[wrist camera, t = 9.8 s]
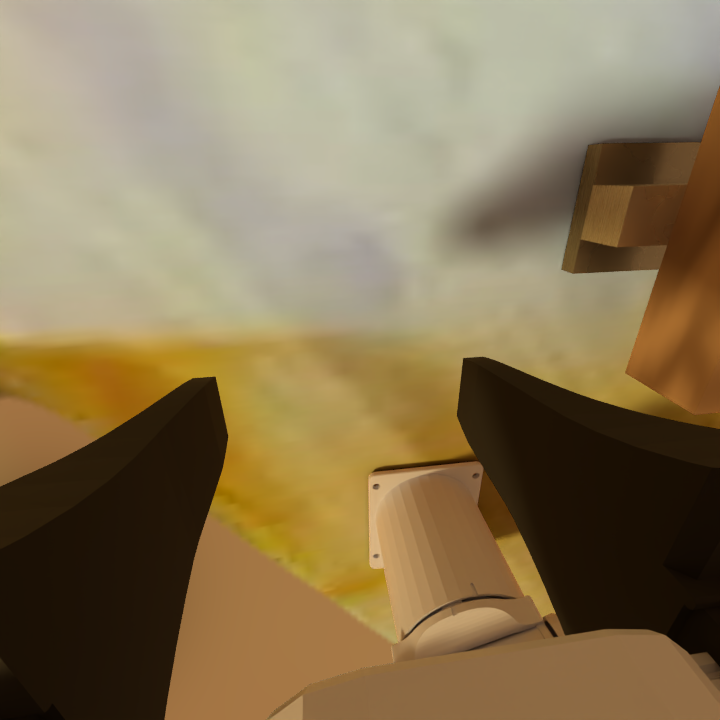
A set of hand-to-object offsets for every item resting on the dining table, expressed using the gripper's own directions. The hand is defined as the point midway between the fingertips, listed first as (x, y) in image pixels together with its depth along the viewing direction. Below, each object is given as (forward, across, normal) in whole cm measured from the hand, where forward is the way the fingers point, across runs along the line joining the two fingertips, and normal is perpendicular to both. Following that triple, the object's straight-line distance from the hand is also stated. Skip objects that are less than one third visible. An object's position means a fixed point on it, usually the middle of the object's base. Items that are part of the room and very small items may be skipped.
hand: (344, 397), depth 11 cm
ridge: (+10, -17, -4) cm, 20 cm away
